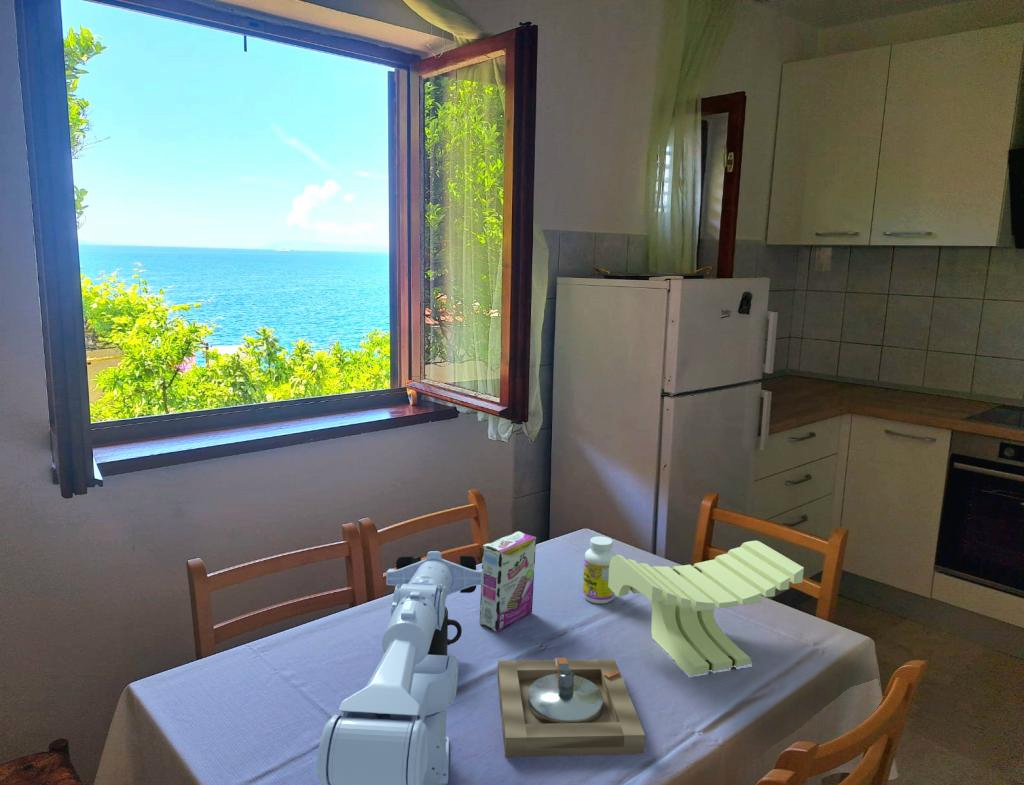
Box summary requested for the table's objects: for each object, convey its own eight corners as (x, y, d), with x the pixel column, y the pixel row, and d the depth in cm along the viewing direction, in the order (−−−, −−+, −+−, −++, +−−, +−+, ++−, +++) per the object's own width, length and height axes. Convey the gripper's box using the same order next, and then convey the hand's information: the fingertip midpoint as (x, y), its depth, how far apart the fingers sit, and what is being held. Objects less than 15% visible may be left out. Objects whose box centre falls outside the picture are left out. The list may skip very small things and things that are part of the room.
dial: (609, 726, 106) (611, 696, 105) (531, 728, 105) (533, 697, 104) (594, 682, 117) (596, 654, 116) (524, 683, 116) (525, 654, 115)
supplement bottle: (576, 593, 152) (579, 536, 150) (603, 588, 155) (606, 532, 153) (593, 607, 146) (596, 548, 144) (620, 601, 149) (623, 543, 147)
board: (643, 753, 102) (645, 731, 102) (505, 757, 101) (505, 734, 100) (613, 675, 122) (614, 656, 121) (497, 676, 120) (498, 657, 120)
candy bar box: (498, 634, 134) (500, 552, 131) (478, 625, 137) (480, 545, 135) (534, 613, 143) (537, 535, 140) (515, 605, 146) (517, 529, 143)
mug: (465, 670, 122) (466, 621, 120) (395, 676, 119) (395, 627, 118) (457, 641, 131) (458, 596, 129) (391, 647, 128) (391, 601, 127)
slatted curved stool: (740, 618, 143) (748, 534, 140) (793, 660, 128) (803, 567, 125) (605, 637, 134) (610, 548, 131) (645, 685, 119) (652, 585, 116)
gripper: (479, 559, 102) (486, 538, 116) (379, 559, 103) (398, 538, 116) (479, 608, 102) (486, 581, 116) (380, 608, 103) (398, 581, 116)
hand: (442, 562), depth 116 cm, fingers open, 7 cm apart
